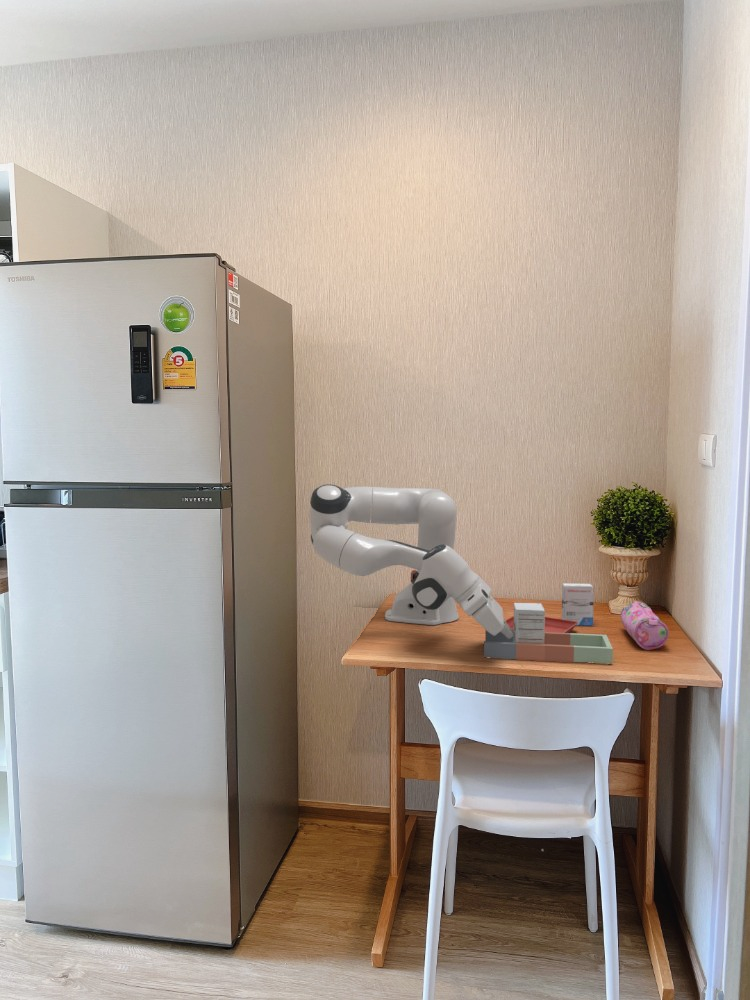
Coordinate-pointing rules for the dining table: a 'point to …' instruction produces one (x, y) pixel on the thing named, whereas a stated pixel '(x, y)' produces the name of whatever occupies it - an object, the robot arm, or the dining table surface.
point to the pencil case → (644, 626)
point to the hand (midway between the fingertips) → (511, 635)
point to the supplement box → (529, 623)
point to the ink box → (578, 603)
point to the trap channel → (552, 648)
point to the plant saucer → (551, 625)
